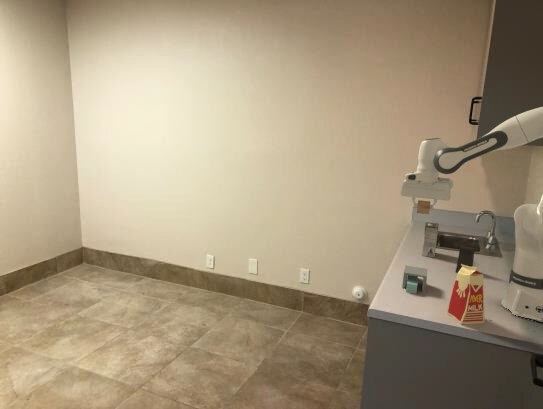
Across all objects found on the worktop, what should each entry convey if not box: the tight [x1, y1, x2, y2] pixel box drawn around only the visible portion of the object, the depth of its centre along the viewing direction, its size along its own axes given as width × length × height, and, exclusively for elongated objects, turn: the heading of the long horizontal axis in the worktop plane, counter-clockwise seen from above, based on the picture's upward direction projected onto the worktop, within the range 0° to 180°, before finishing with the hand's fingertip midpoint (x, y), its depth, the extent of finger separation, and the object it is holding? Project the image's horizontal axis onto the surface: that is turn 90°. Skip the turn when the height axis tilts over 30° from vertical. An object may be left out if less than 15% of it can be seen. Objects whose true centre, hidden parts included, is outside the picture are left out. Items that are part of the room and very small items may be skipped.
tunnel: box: [401, 264, 428, 293], centre depth 165 cm, size 9×9×7 cm
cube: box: [416, 199, 431, 215], centre depth 170 cm, size 5×5×5 cm
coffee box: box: [421, 221, 440, 258], centre depth 205 cm, size 9×6×16 cm
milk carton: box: [446, 264, 486, 325], centre depth 138 cm, size 9×9×20 cm
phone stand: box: [455, 244, 476, 274], centre depth 183 cm, size 9×6×12 cm, turn 146°
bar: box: [405, 275, 419, 295], centre depth 167 cm, size 18×4×4 cm, turn 159°
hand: (423, 208), depth 170 cm, fingers closed on cube, 5 cm apart
